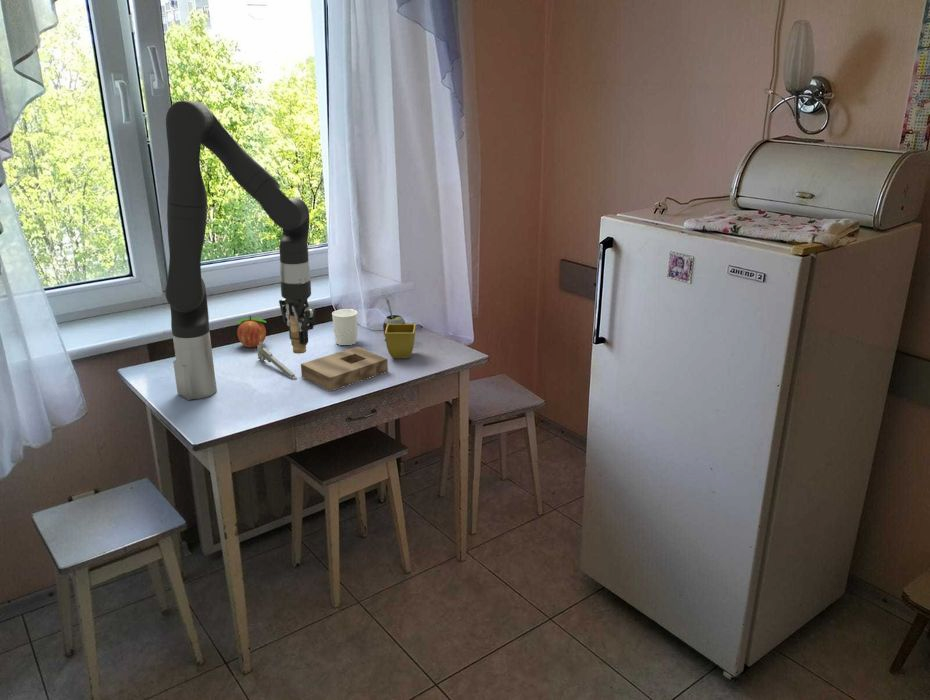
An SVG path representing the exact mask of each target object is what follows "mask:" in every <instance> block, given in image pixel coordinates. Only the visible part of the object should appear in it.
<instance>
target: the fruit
mask: <svg viewBox="0 0 930 700" xmlns="http://www.w3.org/2000/svg"><path fill="white" fill-rule="evenodd" d="M238 323H240V324H239V325H238V327H237V333H236V334H237V338H238V341H239V342H240V343H241V344H242V345H243V346H245V347H247V348H258V345H259V342H262V344H264V343H265V339H266V335H267V330H266V327H265V325H264V323H267V321H266V320H264V319H262V318H258V317H253V318H252V316H251V315H249V318H247V317H245V318H241V319H239V320H238V321H236V322H235V323H234V324H238Z"/></svg>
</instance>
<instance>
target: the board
mask: <svg viewBox="0 0 930 700" xmlns="http://www.w3.org/2000/svg"><path fill="white" fill-rule="evenodd" d="M388 362H389V361H388V358H386V357H384V356H381V355H379V354H377V353H374V352H372V351H369V350H367V349H364V348H362V347H361V346H360V347H359V346H355V347H351V348H349V349H348V348H347V349H346V350H342V351H339V352H336V353H335V352H334V353H332V354H329V355H325V356H322V357H318V358H315V359H313V360H309V361H306V362H303V363H300V371H301V372H300V373H301V377H302V378H303V377H304V378H303V379H305V380H307V381H309V380H310V381H309V382H311V383H313V382H314V383H313V384H315V383H316V384H315V385H317V384H318V385H317V386H319V385H320V386H319V387H321V386H322V387H321V388H323V387H324V388H323V389H325V388H326V389H325V390H327V389H328V390H327V391H329V392H333V391H335V390H334V389H336V390H338V388H339V389H341V387H342V388H344V387H343V386H345V387H347V385H348V386H350V385H349V384H351V385H353V384H352V383H354V384H356V383H355V382H357V383H359V382H358V381H360V382H361V380H363V381H366V380H368V379H370V378H369V377H371V378H373V377H372V376H374V377H376V376H375V375H377V376H380V375H382V374H381V373H383V374H385V373H384V372H386V373H388V371H389V368H388V367H389V365H388ZM379 374H380V375H379ZM367 378H368V379H367ZM332 390H333V391H332Z"/></svg>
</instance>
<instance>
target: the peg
mask: <svg viewBox="0 0 930 700" xmlns="http://www.w3.org/2000/svg"><path fill="white" fill-rule="evenodd" d="M299 319H304V317H301V318H299ZM302 326H303V322H302ZM290 329H291V339H290V341H291V346H292V353H294V354H297V355H299V354H304V353H306V352H307V345H308V343H307V344H304V345H301V344H300V343H299V327H298V323H296V321H295V316H293V315H290Z"/></svg>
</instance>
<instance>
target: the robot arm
mask: <svg viewBox="0 0 930 700" xmlns="http://www.w3.org/2000/svg"><path fill="white" fill-rule="evenodd" d="M165 116H166V117H165V130H166V140H167V151H168V173H167V174H168V175H167V201H166V202H167V205H166V208H167V209H166V218H167V219H166V220H167V240H168V250H169V252H168V253H169V259H168V260H169V261H168V262H169V264H168V271H167V272H168V273H167V279H166V280H167V281H166V286H165V292H164V294H165V298H166V301H167V303H168V305H169V307H170V319H171V320H170V327H171V335H172V340H173V341H172V342H173V349H174V355H175V356H174V357H175V360H173V362H172V363H173V369H174V371H173V372H174V376H175V384H176V392H177V395H179V396H180V397H182V398H183V399H185V400H187V401H190V400H199V399H204V398H209V397H211V396H213V395H214V394H215V393H216V392H217V380H216V374H215V373H216V372H215V365H214V356H213V348H212V342H211V341H212V340H211V333H210V317H209V316H210V315H209V308H208V298H207V291H206V285H205V281H204V279H203V278H202V266H201V264H202V263H201V262H202V261H201V260H202V253H203V247H204V243H205V242H204V241H205V237H206V229H207V223H208V222H207V220H208V193H207V189H206V186H205V182H204V178H203V175H202V170H201V146H204V147H205V148H206V149H208V150H209V151H210V152H211V153H212V154H214V156H215V157H216V158H217V159H218V160H219V161H221V163H222V165H223V166H224V167H225V169H226V170H227V171H228V172H229V174H230V175H231V177H232V178H233V179H234V180H235V182H236V183H237V184H238V185H239V186H240V187H241V188H242V189H243V190H244V191H245V192H247V194H249V195H250V197H252V198H253V199H254V200H255V201H256V202H257V203H258V204H259V205H260V206H261V208H262V210H264V212H265V213H266V214H267V216H268V217H269V218H270V219H271V220H272V222H273V223H274V224H275V225H277V226H278V227H279V228H281V229H282V235H281V239H280V241H279V245H278V246H279V247H278V249H279V264H280V265H279V280H280V292H281V293H280V295H281V297H282V298H283V299H280V300H279V301H278V304H279V307H280V312H281V316H282V321H283V322H284V323H286V325H287V326H288V334H289V339H290V340H291V329H290V315H293V316H295V321H296V323H298V327H299V343H300V344H301V345H304V344H307V345H308V343H309V331H310V330H314V326H315V319H316V314H317V313H316V309H314V308H313V309H312V308H310V305H309V302H308V299H309V298H310V297H311V296H312V284H311V282H312V281H311V269H310V268H311V267H310V262H309V246H308V240H309V229H310V211H309V208H308V207H309V206H308V205H307V204H306V202H305V201H304V200H303V199H301V198H298V197H290V198H289V197H288V196H287V195H286V194H285V193H283V191H282V189H280V188H281V186H280V183H279V182H278V180H277V179H275V177H274V176H273V175H271V174H270V173H269V172H268V171H267V169H265V168H264V167H263V166H262V165H261V164H259V162H257V161H256V160H255V159H254V158H253V156H251V155H250V154H249V153H248V152H247V151H246V150H245V149H244V148H243V147H242V146H241V145H240V144H239V143H238V141H236V139H234V138H233V136H232V135H231V134H230V133H229V132H228V131H227V129H225V127H224V126H223V124H222V123H221V122H220V120H219V119H218V118H217V117H216V115H215V113H213V112H212V110H211V109H210V108H209V107H208V106H207V105H205V104H204V103H203V102H200V101H197V100H179V101H176V102H174V103H172V104H171V106H170V107H169V108H168V109H167V113H166V115H165ZM301 317H304V319H299V318H301ZM302 322H303V326H302Z"/></svg>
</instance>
